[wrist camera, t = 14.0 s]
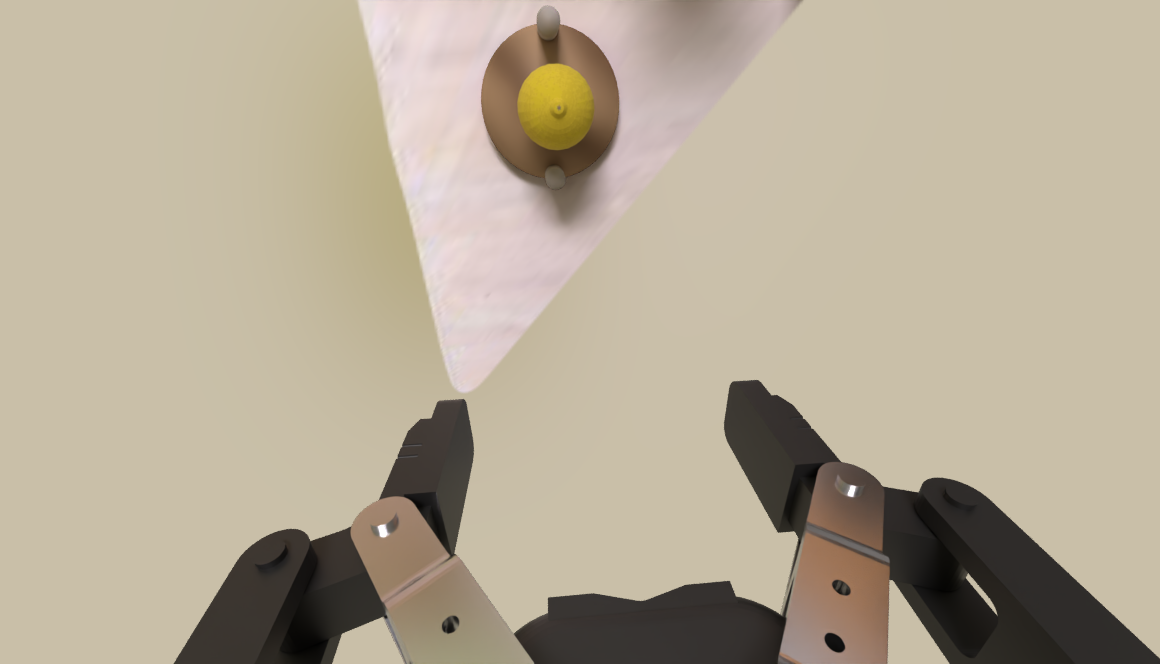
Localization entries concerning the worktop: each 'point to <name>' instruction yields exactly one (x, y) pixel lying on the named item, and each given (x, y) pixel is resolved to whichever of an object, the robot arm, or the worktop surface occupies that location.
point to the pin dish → (508, 76)
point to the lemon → (555, 106)
